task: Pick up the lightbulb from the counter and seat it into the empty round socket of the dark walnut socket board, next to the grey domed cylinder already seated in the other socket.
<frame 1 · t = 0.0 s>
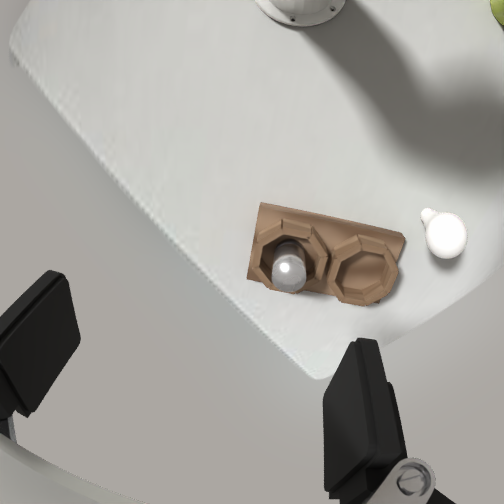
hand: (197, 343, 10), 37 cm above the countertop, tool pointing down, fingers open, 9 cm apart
lightbulb: (425, 213, 43), on the countertop
grey domed cylinder: (289, 252, 47), point 2 cm above the countertop, touching socket board
plant pot: (502, 11, 25), on the countertop
socket board: (324, 253, 48), on the countertop
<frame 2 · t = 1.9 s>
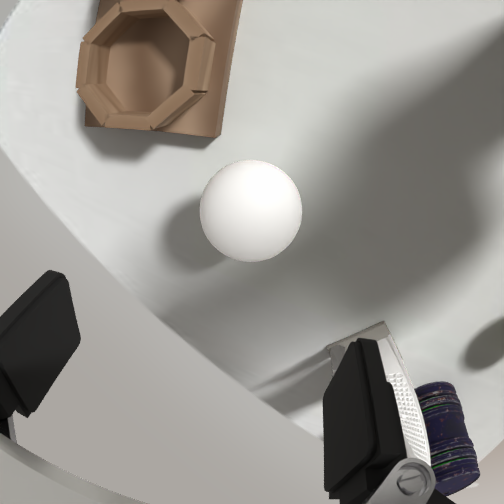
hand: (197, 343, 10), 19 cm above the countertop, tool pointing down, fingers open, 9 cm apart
lightbulb: (263, 176, 26), on the countertop
skyscraper: (373, 351, 34), on the countertop
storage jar: (425, 401, 38), on the countertop
socket board: (170, 6, 20), on the countertop
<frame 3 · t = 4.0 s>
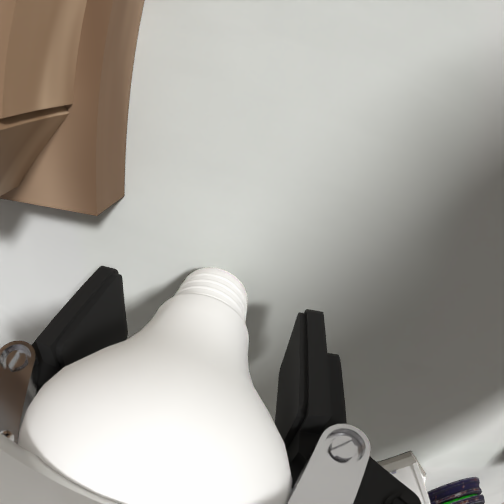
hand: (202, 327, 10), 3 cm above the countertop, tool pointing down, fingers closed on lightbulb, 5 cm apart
lightbulb: (219, 281, 13), on the countertop, touching gripper
skyscraper: (389, 473, 20), on the countertop
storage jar: (443, 493, 24), on the countertop
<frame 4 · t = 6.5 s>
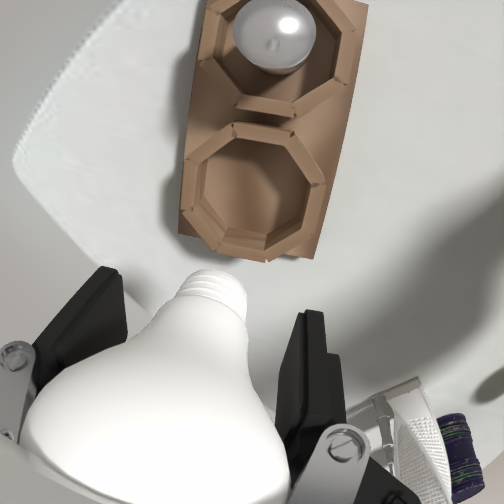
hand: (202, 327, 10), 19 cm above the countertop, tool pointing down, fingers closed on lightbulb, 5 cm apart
lightbulb: (219, 283, 13), point 16 cm above the countertop, touching gripper
grey domed cylinder: (278, 48, 20), point 2 cm above the countertop, touching socket board
skyscraper: (406, 397, 38), on the countertop
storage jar: (441, 427, 42), on the countertop
socket board: (268, 115, 24), on the countertop
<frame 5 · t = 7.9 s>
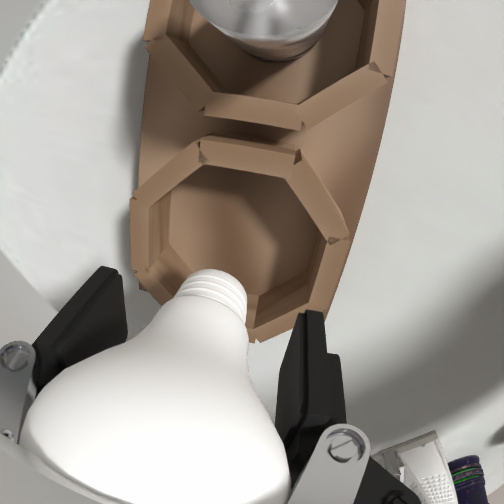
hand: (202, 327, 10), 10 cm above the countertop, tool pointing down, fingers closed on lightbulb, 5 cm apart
lightbulb: (219, 283, 13), point 7 cm above the countertop, touching gripper
grey domed cylinder: (275, 21, 12), point 2 cm above the countertop, touching socket board
skyscraper: (419, 448, 30), on the countertop
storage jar: (452, 468, 34), on the countertop
socket board: (261, 123, 16), on the countertop
when the fingers open (6 cm above the countertop, at t = 9.1 s): lightbulb drops 2 cm, resting on socket board.
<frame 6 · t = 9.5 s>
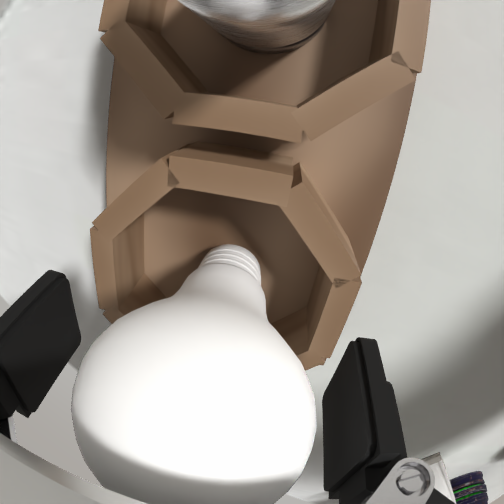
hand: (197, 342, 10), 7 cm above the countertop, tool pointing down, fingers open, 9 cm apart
lightbulb: (234, 259, 14), point 2 cm above the countertop, touching socket board
grey domed cylinder: (268, 2, 9), point 2 cm above the countertop, touching socket board
skyscraper: (422, 468, 28), on the countertop
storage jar: (455, 484, 31), on the countertop
socket board: (251, 130, 13), on the countertop
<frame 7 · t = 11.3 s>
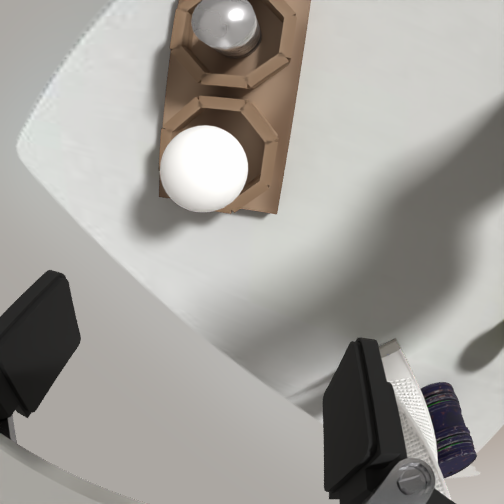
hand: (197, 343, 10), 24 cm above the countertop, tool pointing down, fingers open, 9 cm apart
lightbulb: (225, 149, 29), point 2 cm above the countertop, touching socket board
grey domed cylinder: (236, 36, 23), point 2 cm above the countertop, touching socket board
skyscraper: (387, 361, 42), on the countertop
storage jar: (428, 398, 46), on the countertop
socket board: (232, 92, 28), on the countertop
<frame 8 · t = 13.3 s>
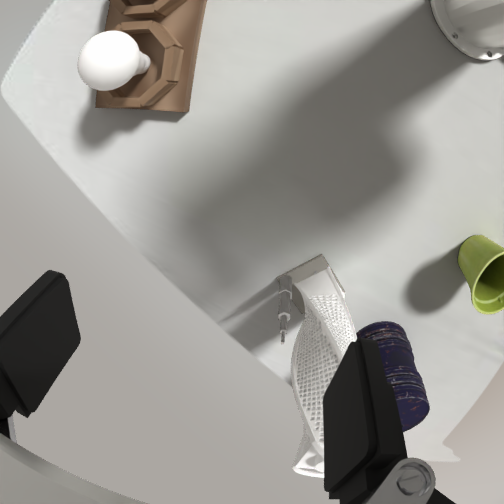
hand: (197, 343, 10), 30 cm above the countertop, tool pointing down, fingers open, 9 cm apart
lightbulb: (144, 64, 31), point 2 cm above the countertop, touching socket board
plant pot: (472, 252, 38), on the countertop
skyscraper: (318, 284, 44), on the countertop
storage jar: (378, 343, 48), on the countertop
socket board: (155, 24, 30), on the countertop
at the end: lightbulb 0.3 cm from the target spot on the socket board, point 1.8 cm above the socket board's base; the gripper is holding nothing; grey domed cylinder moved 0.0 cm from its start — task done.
